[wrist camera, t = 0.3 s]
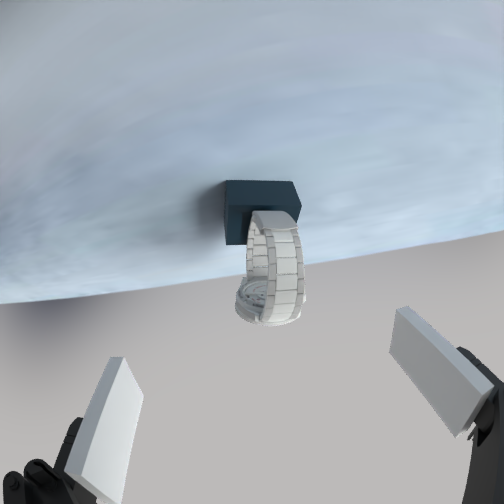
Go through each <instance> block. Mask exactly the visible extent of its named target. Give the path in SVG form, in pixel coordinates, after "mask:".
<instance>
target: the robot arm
mask: <svg viewBox="0 0 504 504" xmlns="http://www.w3.org/2000/svg"><path fill="white" fill-rule="evenodd" d="M389 353H390V354H391V355H392V356H393V358H394V359H395V360H396V361H397V363H398V364H399V365H400V366H401V368H402V369H403V370H404V371H405V373H406V374H407V375H408V376H409V378H410V379H411V380H412V381H413V383H414V384H415V385H416V386H417V388H418V389H419V390H420V392H421V393H422V394H423V396H424V397H425V398H426V399H427V401H428V402H429V403H430V405H431V406H432V407H433V409H434V410H435V411H436V413H437V414H438V415H439V417H440V418H441V419H442V421H443V422H444V423H445V425H446V426H447V427H448V429H449V430H450V432H451V433H452V434H453V436H454V437H455V438H456V437H458V436H459V435H461V434H462V433H464V432H465V431H467V430H468V429H469V427H470V426H471V424H472V423H473V421H474V422H475V424H476V426H475V428H474V429H473V431H472V432H471V433H470V435H469V436H468V439H467V440H470V439H471V437H472V436H473V435H474V438H473V439H472V440H473V447H472V455H471V462H470V468H469V474H468V479H467V484H466V489H465V493H464V497H463V501H462V504H504V383H503V382H502V381H500V380H499V379H498V378H497V377H496V376H495V375H494V374H493V373H492V372H491V371H490V370H489V369H488V368H487V367H486V366H485V365H484V364H482V363H481V361H480V360H479V359H476V357H475V356H474V355H473V354H472V353H471V352H470V351H468V350H466V349H464V348H462V347H458V348H455V347H454V346H453V345H451V344H450V343H449V342H448V341H447V340H446V339H445V338H444V337H443V336H442V335H441V334H440V333H438V332H437V331H436V330H435V329H434V328H433V327H432V326H431V325H429V324H428V323H427V322H426V321H425V320H424V319H423V318H421V317H420V316H419V315H418V314H417V313H416V312H415V311H413V310H412V309H411V308H410V307H409V306H406V307H403V308H400V309H397V310H396V314H395V322H394V328H393V335H392V340H391V346H390V351H389ZM143 398H144V396H143V394H142V392H141V390H140V388H139V386H138V384H137V382H136V380H135V378H134V376H133V374H132V372H131V370H130V368H129V366H128V364H127V362H126V360H125V358H124V357H111V358H110V359H109V362H108V364H107V366H106V368H105V370H104V372H103V374H102V377H101V379H100V381H99V383H98V385H97V388H96V390H95V393H94V394H93V397H92V399H91V401H90V404H89V406H88V408H87V411H86V413H85V416H84V418H80V417H77V418H76V419H75V420H74V421H73V423H72V424H71V425H70V427H69V429H68V431H67V436H66V437H65V439H64V443H63V444H62V446H61V449H60V452H59V455H58V457H57V460H56V462H55V465H54V468H52V467H50V466H49V465H48V464H47V463H46V462H45V461H43V460H41V459H34V460H31V461H30V462H28V463H27V465H26V466H25V468H24V477H23V476H22V475H21V474H20V473H18V472H16V471H11V472H9V473H7V474H6V475H5V477H4V480H3V497H4V498H3V499H4V504H97V503H96V499H97V498H98V499H100V500H101V501H103V502H104V503H108V504H121V502H122V495H123V490H124V485H125V479H126V474H127V468H128V463H129V458H130V453H131V449H132V445H133V440H134V436H135V431H136V427H137V423H138V418H139V414H140V410H141V406H142V402H143Z"/></svg>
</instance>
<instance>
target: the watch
mask: <svg viewBox="0 0 504 504" xmlns="http://www.w3.org/2000/svg"><path fill="white" fill-rule="evenodd" d="M301 207H302V205H301V202H300V200H299V197H298V195H297V192H296V189H295V187H294V184H293V182H290V181H256V180H226V191H225V210H224V225H225V238H226V245H247V254H246V259H252V260H247V261H246V271H247V277H243V279H242V282H241V286H240V288H239V290H238V291H237V295H236V303H235V309H236V311H237V314H238V315H239V316H240V317H241V318H243V319H244V320H246V321H248V322H250V323H253V324H258V325H262V326H278V325H283V324H287V323H289V322H292V321H293V320H295V319H296V318H299V317H300V314H301V307H302V304H303V302H306V294H305V279H304V278H305V272H304V263H303V262H304V259H303V252H302V248H301V247H302V245H301V241H300V238H299V234H298V232H297V231H298V226H297V224H296V223H297V220H298V217H299V213H300V210H301ZM252 255H259V256H252ZM293 257H295V258H293ZM259 266H268V267H259ZM292 273H296V274H292ZM276 274H283V275H276Z"/></svg>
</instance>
